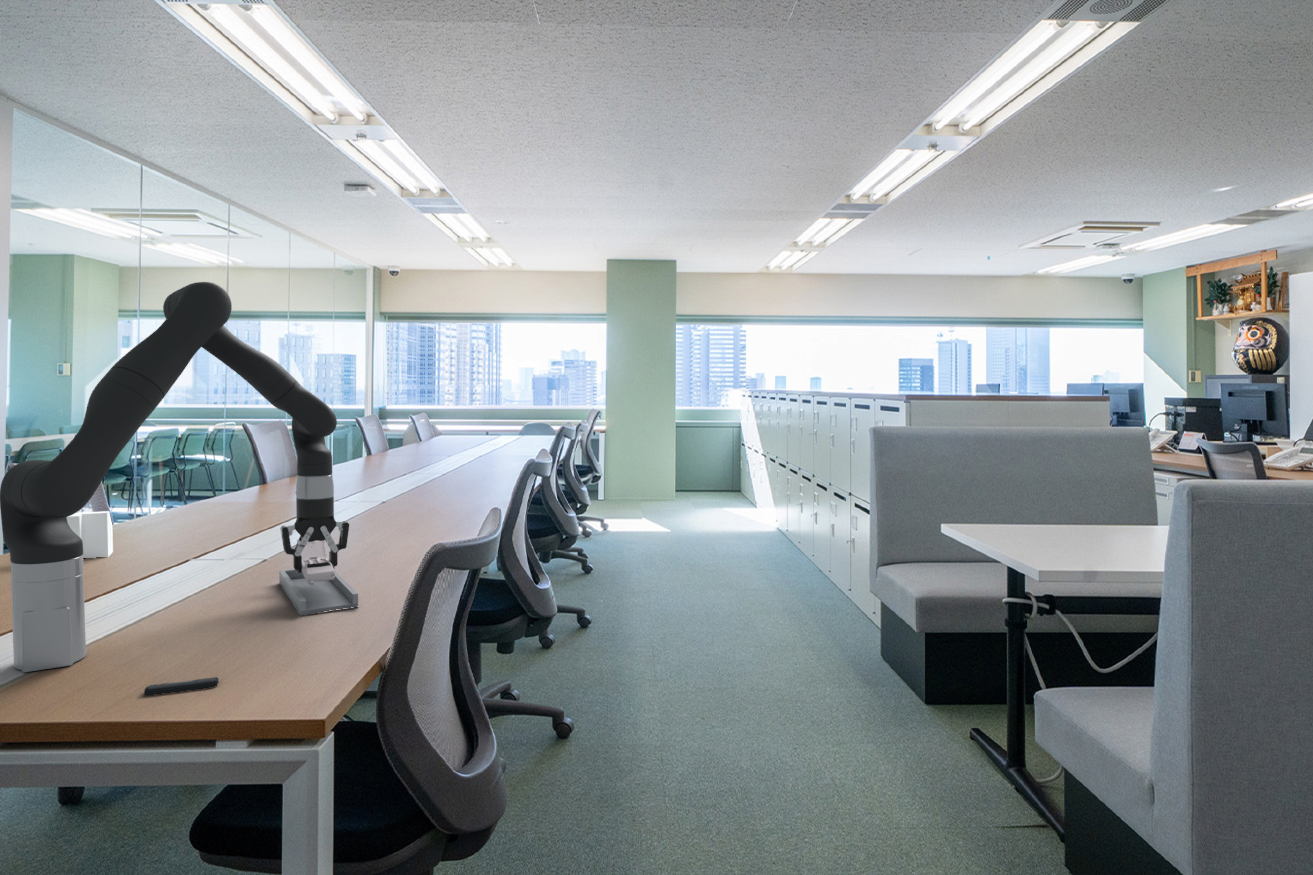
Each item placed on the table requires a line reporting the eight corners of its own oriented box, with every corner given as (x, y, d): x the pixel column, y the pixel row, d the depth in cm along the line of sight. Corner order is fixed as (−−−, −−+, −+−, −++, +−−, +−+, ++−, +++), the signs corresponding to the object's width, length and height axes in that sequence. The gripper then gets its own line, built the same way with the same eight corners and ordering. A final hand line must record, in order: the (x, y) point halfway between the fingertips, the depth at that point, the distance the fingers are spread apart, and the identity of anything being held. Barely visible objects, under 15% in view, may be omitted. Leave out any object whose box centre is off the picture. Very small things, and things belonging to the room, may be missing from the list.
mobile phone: (323, 536, 176) (337, 556, 154) (324, 560, 176) (337, 584, 155) (295, 538, 173) (305, 559, 151) (296, 563, 173) (306, 588, 152)
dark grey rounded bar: (220, 683, 115) (220, 673, 115) (217, 689, 112) (217, 679, 112) (147, 692, 111) (147, 682, 111) (143, 699, 109) (143, 689, 108)
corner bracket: (54, 563, 189) (53, 517, 188) (64, 555, 199) (63, 510, 198) (106, 559, 194) (104, 514, 193) (113, 551, 204) (112, 508, 203)
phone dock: (358, 607, 155) (358, 593, 155) (300, 615, 148) (300, 601, 148) (329, 577, 179) (329, 565, 179) (279, 583, 173) (279, 570, 173)
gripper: (281, 499, 156) (282, 578, 157) (353, 495, 164) (354, 569, 165) (276, 495, 162) (277, 570, 163) (346, 491, 170) (346, 563, 171)
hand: (315, 569), depth 164 cm, fingers closed on mobile phone, 6 cm apart
